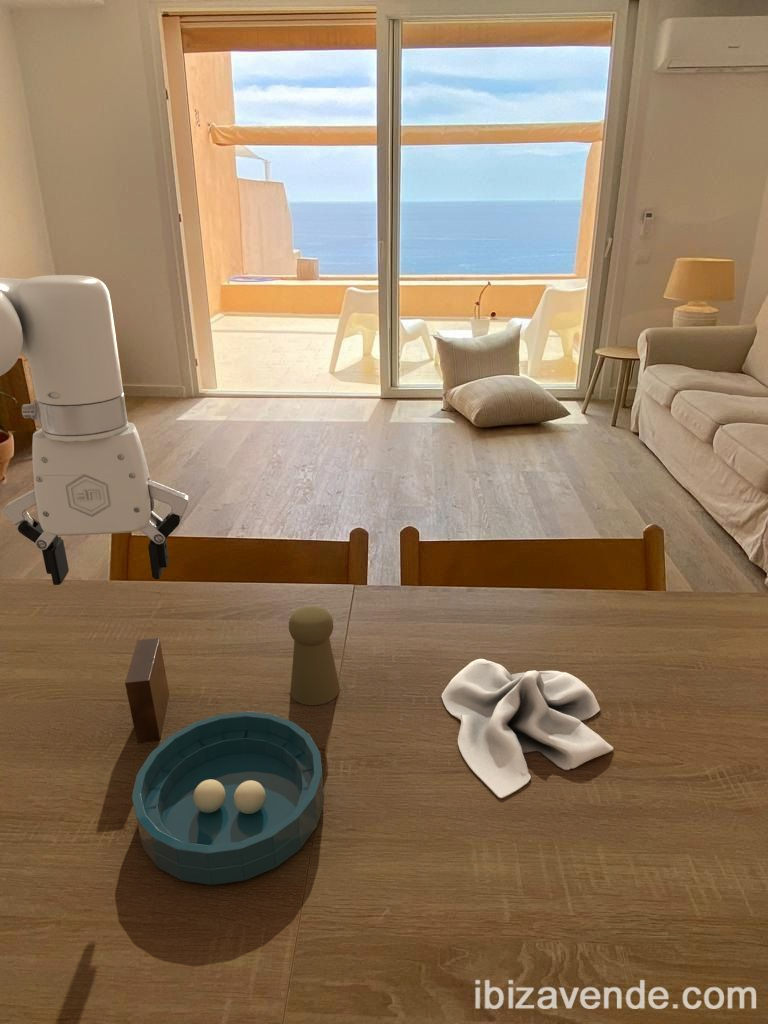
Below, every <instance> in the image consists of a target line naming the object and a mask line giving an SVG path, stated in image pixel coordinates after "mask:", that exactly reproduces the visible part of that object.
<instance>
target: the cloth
mask: <svg viewBox="0 0 768 1024" xmlns="http://www.w3.org/2000/svg"><path fill="white" fill-rule="evenodd" d="M441 700H442V703H443V705H444V707H445V709H446V711H447V712H448V713H449V714H450V715H451V716H452V717H455V718H456V719H458V720H459V721H460V727H459V732H458V735H457V746H458V749H459V751H460V755H461V756H462V758H463V759H464V761H465V763H466V764H467V766H468V767H469V768H470V770H471V771H472V772H473V773H474V774H475V776H477V777H478V779H479V780H481V782H483V783H484V784H485V785H486V786H487V788H488V789H490V791H492V793H493V794H494V795H495V796H496V797H497V798H499V799H504V798H506V797H508V796H510V795H512V794H514V793H515V792H517V791H519V790H520V789H522V788H523V787H524V786H525V785H527V784H528V783H529V781H530V780H531V779H532V778H531V774H530V773H529V768H528V764H527V761H526V759H525V757H524V754H526V753H533V752H538V753H541V754H542V756H544V757H545V758H546V759H548V760H550V761H551V762H552V763H553V764H554V765H556V766H557V767H558V768H559V769H562V770H564V771H569V770H570V769H575V768H577V767H579V766H581V765H583V764H584V763H586V762H589V761H591V760H593V759H595V758H598V757H601V756H603V755H606V754H609V753H611V752H612V751H613V750H614V747H613V745H611V744H609V743H608V742H607V741H606V740H605V739H604V738H603V737H602V736H601V735H600V734H598V733H596V732H595V731H593V729H591V728H590V727H588V726H587V725H586V724H584V722H582V721H586V720H589V719H590V718H593V716H595V715H596V714H598V712H600V710H601V707H600V705H599V703H598V701H597V698H596V696H595V694H594V692H593V691H592V690H591V689H590V687H588V685H587V684H585V683H584V681H582V680H580V679H579V678H577V677H576V676H574V675H573V674H571V673H568V672H566V671H558V670H539V671H537V670H536V669H535V670H528V671H525V672H524V671H523V672H518V673H517V672H516V673H512V674H511V673H510V672H509V671H508V670H507V669H506V667H504V666H503V665H502V664H500V663H497V662H494V661H491V660H487V659H484V658H478V659H477V658H476V659H474V660H473V661H470V662H469V663H468V664H467V665H466V666H464V668H462V669H461V670H460V671H459V672H458V673H457V674H455V676H454V677H452V678H451V680H450V681H449V683H448V684H447V686H446V687H445V688H444V690H443V691H442V693H441Z"/></svg>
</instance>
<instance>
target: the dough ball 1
mask: <svg viewBox="0 0 768 1024" xmlns="http://www.w3.org/2000/svg"><path fill="white" fill-rule="evenodd" d="M193 799H194V804H195V806H196V807H197V808H198V809H199V810H200V811H202V812H205V813H211V812H214V811H216V810H218V809H219V808H220V807H221V806H222V804H223V803H224V800H225V789H224V787H223V785H222V784H221V783H220V782H218V781H217V780H213V779H209V780H205V781H203V782H201V783H200V784H199V785H198V786H197V788H196V789H195V792H194V796H193Z"/></svg>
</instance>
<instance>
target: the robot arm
mask: <svg viewBox="0 0 768 1024" xmlns="http://www.w3.org/2000/svg"><path fill="white" fill-rule="evenodd" d="M112 307H113V306H112V301H111V296H110V291H109V289H108V287H107V285H106V284H105V283H104V281H102V280H100V279H99V278H97V277H95V276H89V275H81V274H51V275H39V276H34V277H29V278H13V277H12V278H11V277H0V377H2V376H3V375H5V374H6V373H7V372H9V371H10V370H11V369H13V367H14V366H15V364H16V363H17V362H18V359H19V358H20V356H22V355H23V356H25V357H26V358H27V361H28V365H29V370H30V376H31V381H32V385H33V386H32V387H33V390H34V395H35V399H34V400H33V402H30V403H24V404H22V405H21V414H22V417H23V418H24V419H32V420H34V421H36V423H37V424H38V430H36V431H35V432H34V433H33V434H32V443H31V444H32V445H31V450H32V451H31V452H32V454H31V455H32V457H31V458H32V474H33V475H32V476H33V485H34V488H33V489H30V490H29V491H27V492H25V493H24V494H22V495H20V496H18V497H16V498H14V499H13V500H11V501H9V502H8V503H7V504H6V505H5V507H4V508H3V513H4V514H5V516H6V517H7V518H8V519H9V520H10V521H11V522H12V524H13V525H14V526H16V527H17V531H18V533H20V534H21V535H22V536H23V537H25V538H27V539H28V540H30V541H31V542H33V543H34V545H35V547H36V549H38V550H39V551H41V552H42V557H43V563H44V567H45V572H46V574H47V575H51V580H52V585H53V586H61V584H63V583H64V580H65V579H66V577H67V575H68V573H69V571H70V569H69V563H68V558H67V553H66V547H65V543H64V539H63V538H62V536H63V537H66V536H67V537H68V536H70V537H71V536H90V535H91V536H92V535H93V536H94V535H111V534H129V533H135V532H139V531H141V533H143V534H144V535H145V536H146V537H147V538H149V539H150V540H149V543H148V546H147V549H148V557H149V562H150V570H151V577H152V579H154V580H161V577H162V575H163V571H164V569H165V568H168V567H169V563H170V559H169V558H170V557H169V551H168V543H167V538H168V537H169V536H170V535H171V534H172V533H173V532H174V531H175V530H176V529H177V528H178V526H179V525H180V523H181V521H182V518H183V517H184V515H185V512H186V510H187V508H188V505H189V502H190V496H189V495H187V494H186V493H183V492H181V491H178V490H176V489H173V488H171V487H169V486H166V485H164V484H161V483H159V482H156V481H153V480H151V475H150V471H149V466H148V463H147V459H146V455H145V451H144V447H143V445H142V441H141V438H140V435H139V432H138V430H137V427H136V424H135V423H133V422H129V421H128V415H127V408H126V407H127V406H126V399H125V393H124V386H123V380H122V372H121V371H122V370H121V365H120V358H119V356H120V355H119V350H118V344H117V343H118V342H117V336H116V330H115V329H116V328H115V322H114V314H113V309H112ZM155 500H156V501H159V502H161V503H163V504H166V505H169V506H170V507H171V510H170V512H169V513H168V514H167V515H166V516H165V517H164V518H163V519H162V518H161V517H160V516H159V515H158V514H156V512H154V510H155V509H154V508H155ZM34 506H36V511H37V516H38V517H37V518H38V520H36V519H35V518H33V517H31V516H30V514H29V512H28V511H27V510H29V509H31V508H33V507H34Z"/></svg>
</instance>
